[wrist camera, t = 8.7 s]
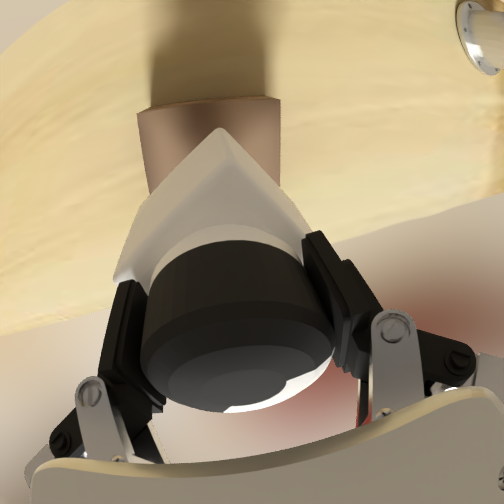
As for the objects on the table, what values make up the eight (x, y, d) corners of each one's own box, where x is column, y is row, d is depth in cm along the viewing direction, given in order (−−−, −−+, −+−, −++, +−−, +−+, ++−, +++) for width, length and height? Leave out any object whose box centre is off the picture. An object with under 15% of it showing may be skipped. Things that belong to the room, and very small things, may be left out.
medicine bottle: (137, 207, 16) (81, 388, 6) (219, 124, 14) (261, 242, 4) (217, 268, 20) (238, 435, 10) (295, 204, 18) (389, 361, 8)
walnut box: (264, 95, 23) (280, 99, 19) (265, 195, 30) (279, 221, 25) (151, 106, 22) (136, 113, 17) (166, 206, 29) (159, 235, 24)
